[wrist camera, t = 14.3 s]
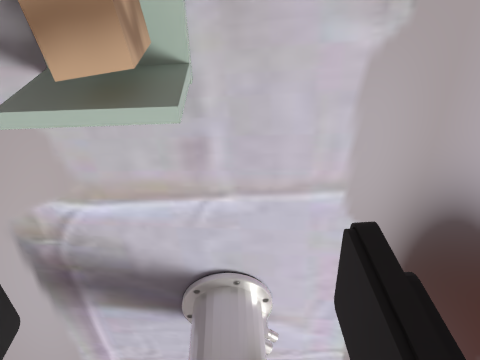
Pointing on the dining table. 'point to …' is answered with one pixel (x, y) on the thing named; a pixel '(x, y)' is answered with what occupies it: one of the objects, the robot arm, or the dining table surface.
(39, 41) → the wooden block
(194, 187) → the dining table surface
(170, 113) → the shelf rack
